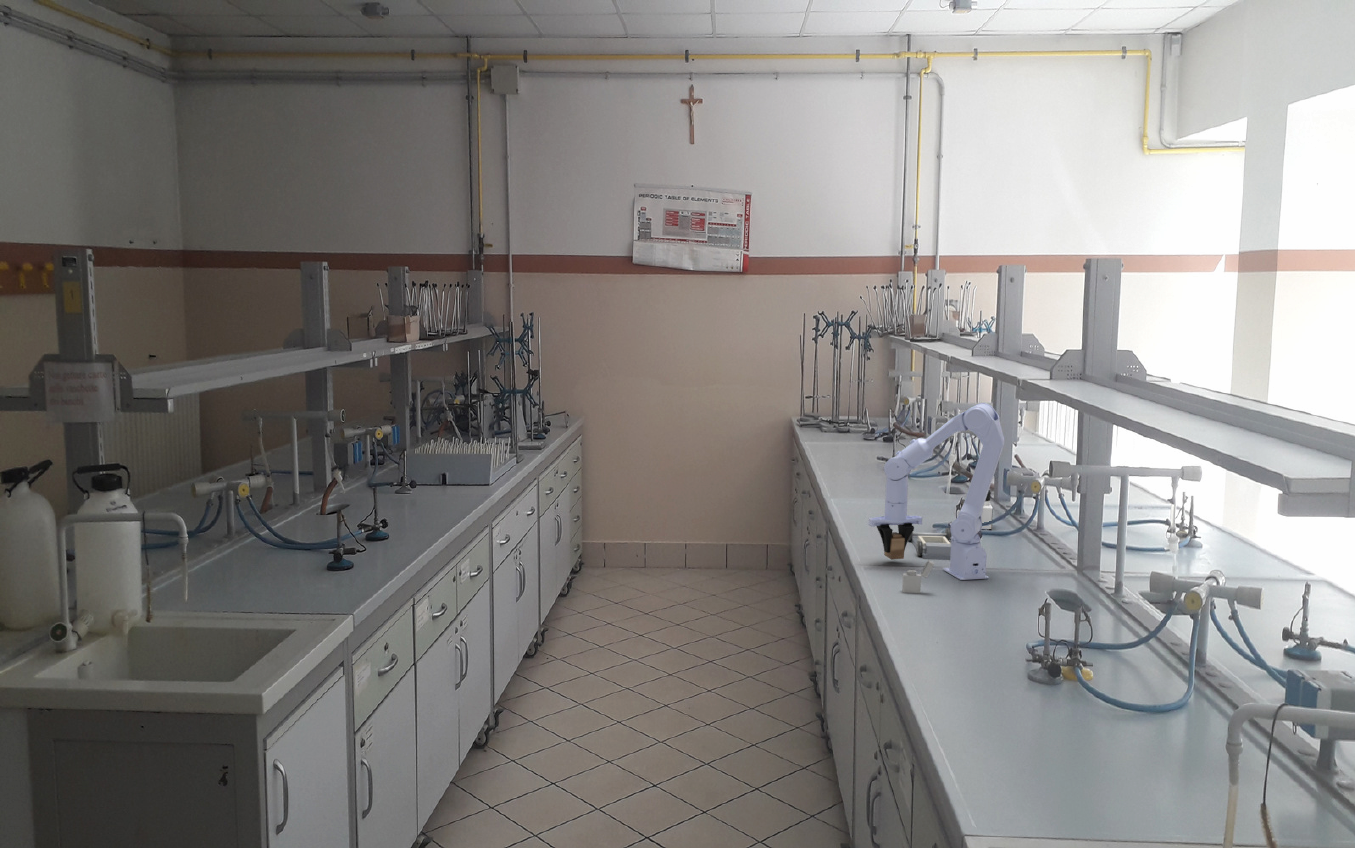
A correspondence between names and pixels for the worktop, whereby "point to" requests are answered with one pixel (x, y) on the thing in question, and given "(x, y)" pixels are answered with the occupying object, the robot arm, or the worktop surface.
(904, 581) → the lighter
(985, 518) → the medicine bottle
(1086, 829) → the worktop surface
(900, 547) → the brown wooden block
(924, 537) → the chassis
